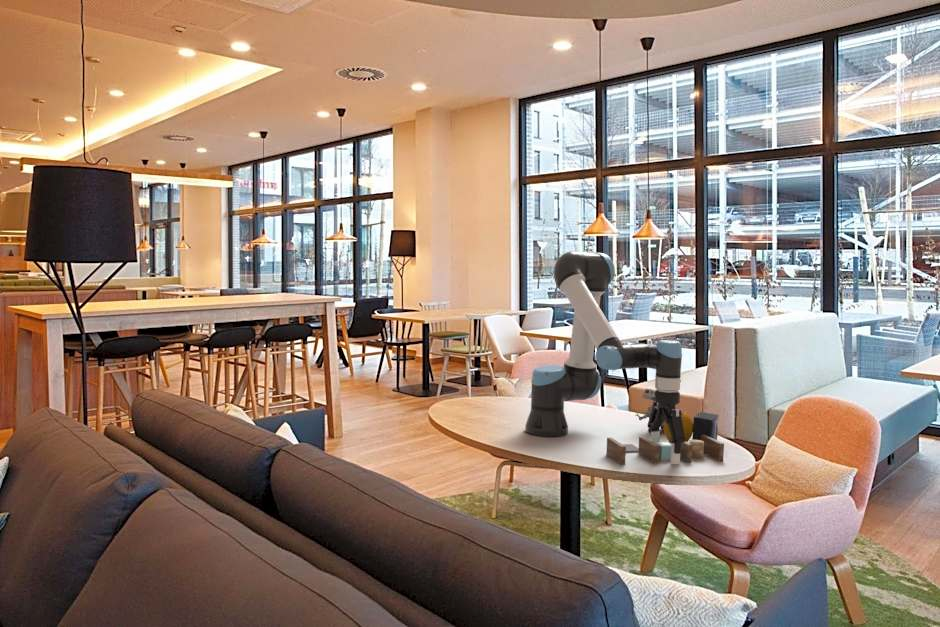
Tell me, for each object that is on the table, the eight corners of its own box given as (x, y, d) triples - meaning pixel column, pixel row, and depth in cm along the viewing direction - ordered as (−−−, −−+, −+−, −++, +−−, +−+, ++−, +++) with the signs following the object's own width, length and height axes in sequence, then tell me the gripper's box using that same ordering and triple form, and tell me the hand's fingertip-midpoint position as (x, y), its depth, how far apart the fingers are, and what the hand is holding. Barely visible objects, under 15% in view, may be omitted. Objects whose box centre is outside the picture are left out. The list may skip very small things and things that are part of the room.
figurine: (649, 425, 259) (651, 386, 258) (675, 432, 250) (677, 391, 249) (634, 429, 253) (636, 388, 252) (661, 435, 244) (663, 393, 243)
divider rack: (620, 464, 207) (621, 446, 206) (606, 454, 217) (607, 437, 217) (723, 460, 214) (724, 443, 213) (704, 451, 224) (705, 434, 224)
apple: (675, 449, 225) (676, 414, 224) (656, 442, 234) (657, 408, 233) (698, 447, 229) (700, 412, 228) (679, 440, 238) (680, 406, 237)
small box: (711, 451, 225) (712, 419, 224) (691, 447, 229) (692, 416, 228) (718, 444, 234) (719, 413, 234) (698, 441, 238) (699, 411, 237)
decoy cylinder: (693, 459, 215) (694, 443, 215) (686, 455, 219) (686, 439, 219) (705, 458, 216) (706, 442, 216) (698, 454, 220) (699, 439, 220)
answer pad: (619, 452, 220) (619, 451, 220) (609, 446, 228) (609, 444, 228) (642, 452, 221) (642, 450, 221) (631, 445, 229) (631, 444, 229)
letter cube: (661, 460, 213) (661, 445, 212) (654, 456, 217) (654, 442, 217) (674, 459, 214) (675, 445, 213) (667, 455, 218) (668, 441, 218)
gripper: (699, 397, 203) (696, 468, 204) (659, 383, 227) (657, 446, 228) (676, 398, 201) (673, 469, 202) (638, 383, 225) (636, 447, 227)
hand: (664, 457), depth 215 cm, fingers open, 13 cm apart
